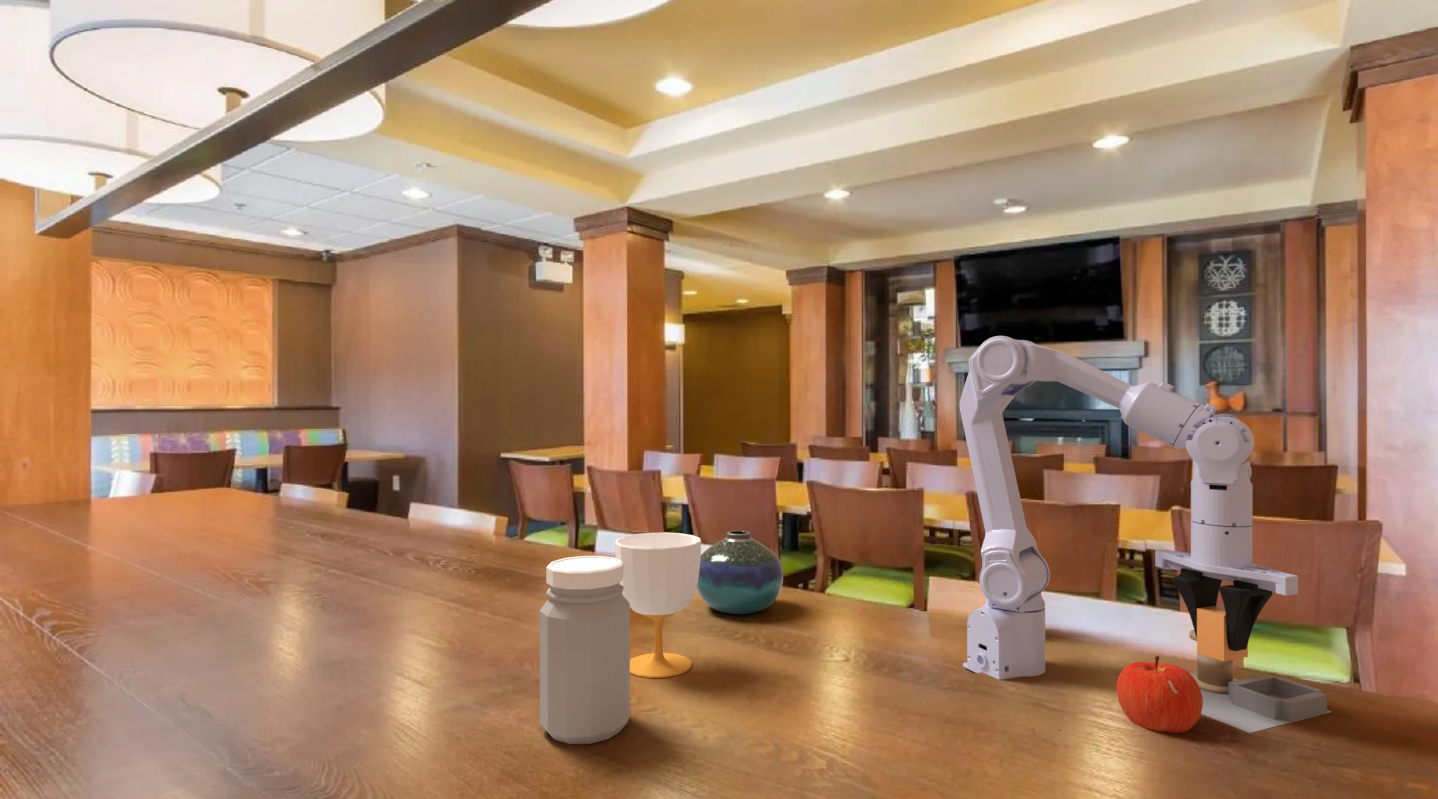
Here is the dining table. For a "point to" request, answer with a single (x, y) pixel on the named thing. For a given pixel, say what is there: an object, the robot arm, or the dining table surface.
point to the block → (1215, 634)
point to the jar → (584, 650)
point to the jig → (1264, 703)
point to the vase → (739, 575)
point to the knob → (1212, 672)
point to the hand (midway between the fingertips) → (1221, 644)
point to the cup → (659, 589)
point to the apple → (1159, 696)
